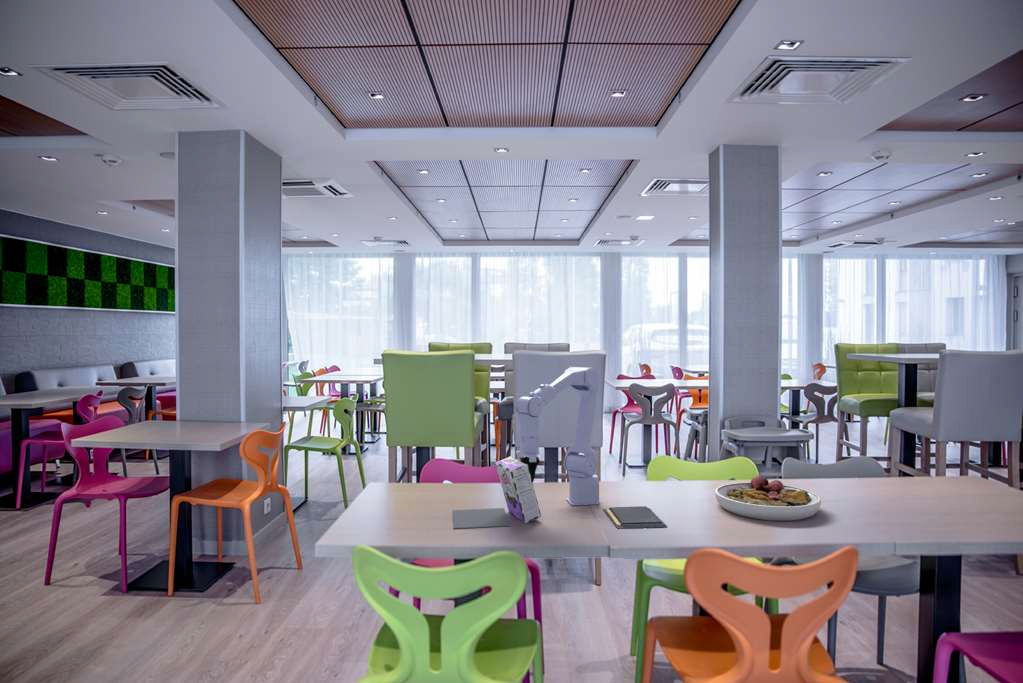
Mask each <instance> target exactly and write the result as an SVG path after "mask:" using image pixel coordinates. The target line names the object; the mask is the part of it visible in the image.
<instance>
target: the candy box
mask: <svg viewBox="0 0 1023 683" xmlns="http://www.w3.org/2000/svg"><path fill="white" fill-rule="evenodd" d="M494 464H495V467H496V470H497V474H498V478H499V480H500V484H501V485H500V486H501V488H502V491H503V495H504V500H505V502H506V505H507V506H506V507H507V509H508V510H507V511H508V512H509V513H511V515H513V516H515V518H517V519H518V520H520V521H521V522H522V523H524V524H527V523H530V522H532V521H535V520H538V519H540V518H542V514H541V510H540V505H539V502H538V499H537V496H536V495H537V494H536V492H535V488H534V484H533V483H534V482H532V479H531V475H530V472H529V468H528V465H527V464H524V463H523V462H521V460H520V459H517V458H515V457H513V456H510V455H509V456H508V457H505V458H503V459H501V460H498V461H495V462H494Z"/></svg>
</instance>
